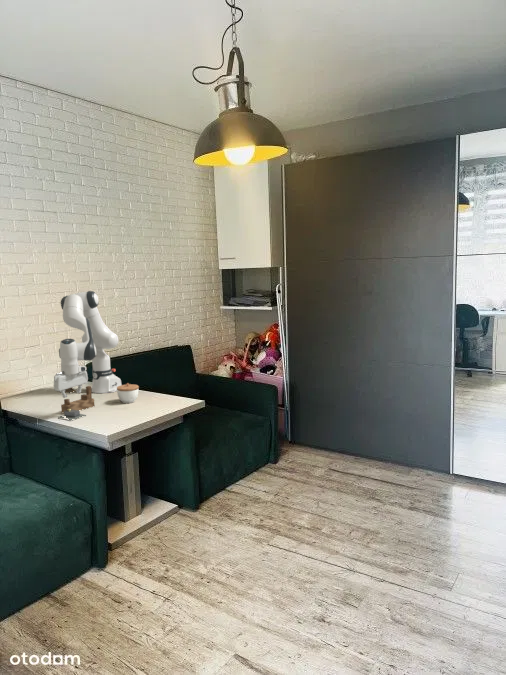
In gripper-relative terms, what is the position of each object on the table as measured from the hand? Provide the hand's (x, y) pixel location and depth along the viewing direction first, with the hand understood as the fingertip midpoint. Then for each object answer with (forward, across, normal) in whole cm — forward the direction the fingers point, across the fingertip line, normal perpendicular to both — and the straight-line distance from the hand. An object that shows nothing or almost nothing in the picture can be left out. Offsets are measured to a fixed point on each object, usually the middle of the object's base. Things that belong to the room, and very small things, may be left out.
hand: (72, 395), depth 264 cm
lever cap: (+11, -1, 0) cm, 11 cm away
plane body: (+12, +12, +9) cm, 19 cm away
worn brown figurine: (+13, +39, +49) cm, 64 cm away
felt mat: (+12, -1, 0) cm, 12 cm away
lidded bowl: (+13, +37, -5) cm, 40 cm away
